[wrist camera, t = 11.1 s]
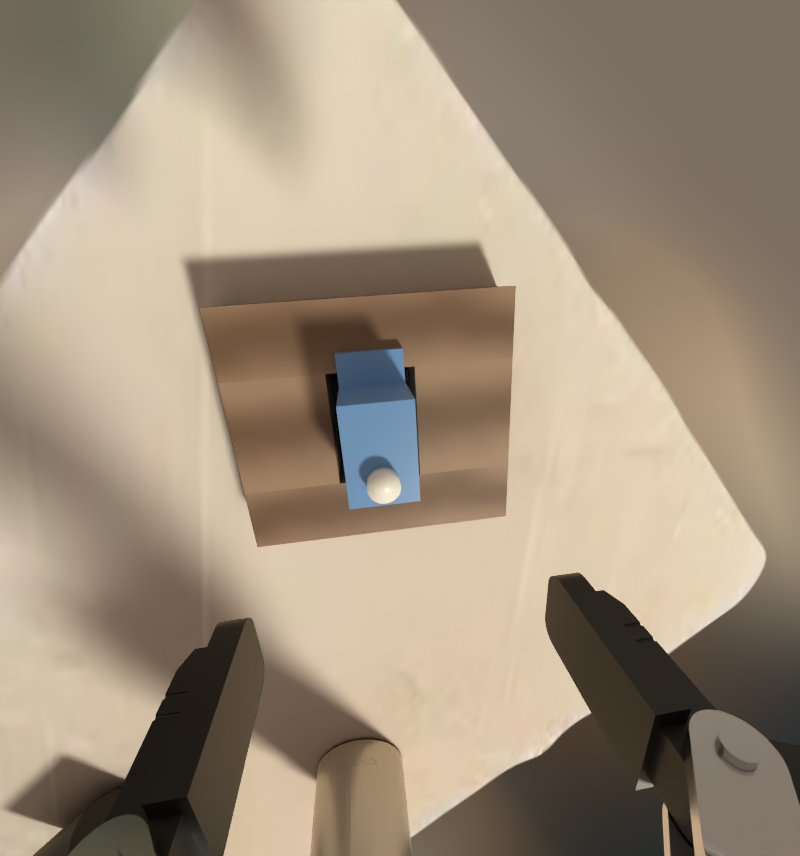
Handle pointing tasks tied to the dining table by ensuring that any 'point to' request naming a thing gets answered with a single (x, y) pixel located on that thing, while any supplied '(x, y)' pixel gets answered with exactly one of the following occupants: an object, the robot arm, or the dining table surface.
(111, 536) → the dining table surface
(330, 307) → the board
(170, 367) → the dining table surface
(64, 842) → the end cap
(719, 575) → the dining table surface
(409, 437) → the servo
